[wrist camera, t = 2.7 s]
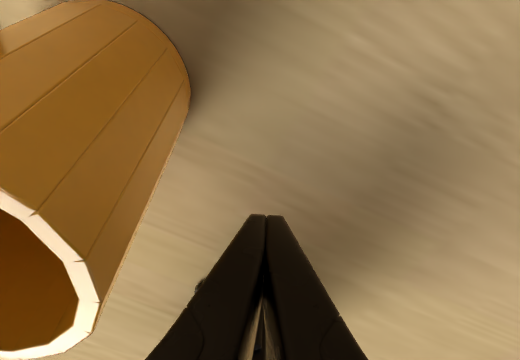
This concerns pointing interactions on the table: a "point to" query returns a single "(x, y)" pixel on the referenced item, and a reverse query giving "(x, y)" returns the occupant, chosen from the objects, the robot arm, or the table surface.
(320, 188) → the table surface
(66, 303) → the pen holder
